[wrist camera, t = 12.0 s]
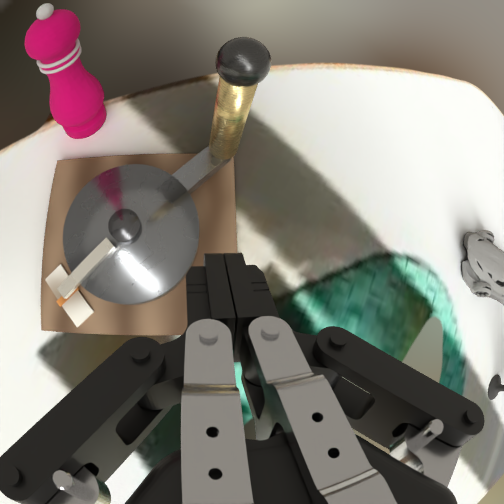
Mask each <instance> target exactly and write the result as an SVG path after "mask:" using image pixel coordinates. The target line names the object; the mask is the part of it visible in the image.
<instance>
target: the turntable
mask: <svg viewBox="0 0 504 504" xmlns="http://www.w3.org/2000/svg"><path fill="white" fill-rule="evenodd" d="M270 67H271V57H270V53H269V51H268V50H267V48H266V47H265V46H264V45H263V44H262V43H261V42H259V41H257V40H255V39H252V38H248V37H240V38H234V39H232V40H230V41H228V42H226V43H225V44H224V45H223V46H222V47H221V48H220V50H219V51H218V53H217V56H216V69H217V72H218V74H219V75H220V78H219V84H218V90H217V96H216V102H215V108H214V115H213V122H212V129H211V136H210V143H209V146H208V147H206V148H205V149H204V150H202V151H201V152H200V153H199V154H197V155H196V156H195V157H193V158H192V159H191V160H190V161H188V162H187V163H186V164H185V165H183V166H182V167H181V168H180V169H178V170H177V171H176V172H175V173H174V174H172V175H171V174H169V173H168V172H166V171H164V170H161V169H159V168H156V167H153V166H149V165H143V164H130V165H123V166H118V167H115V168H112V169H109V170H107V171H105V172H103V173H101V174H99V175H98V176H96V177H95V178H93V179H92V180H91V181H90V182H88V183H87V184H86V185H85V186H84V187H83V188H82V189H81V191H80V192H79V193H78V194H77V196H76V197H75V199H74V200H73V202H72V204H71V206H70V208H69V210H68V213H67V216H66V219H65V223H64V228H63V249H64V254H65V258H66V261H67V264H68V266H69V268H70V270H71V272H72V273H71V274H70V275H69V276H68V277H67V278H66V279H65V281H64V282H63V283H62V284H61V285H60V286H59V287H58V288H57V290H58V291H59V292H60V294H61V295H62V296H63V298H64V299H67V298H68V297H69V296H70V295H71V294H72V293H73V292H74V291H75V290H76V289H77V287H78V286H79V285H80V284H81V286H82V287H84V288H85V289H86V290H87V291H88V292H90V293H91V294H93V295H95V296H96V297H98V298H100V299H103V300H105V301H109V302H113V303H117V304H123V305H140V304H145V303H149V302H152V301H155V300H157V299H159V298H161V297H163V296H165V295H166V294H168V293H169V292H171V291H172V290H173V289H174V288H176V287H177V286H178V285H179V284H180V283H181V281H182V280H183V279H184V278H185V276H186V274H187V272H188V270H189V269H190V267H191V266H192V264H193V262H194V259H195V257H196V253H197V249H198V242H199V218H198V213H197V209H196V206H195V203H194V201H193V199H192V197H191V195H190V194H191V193H193V192H194V191H195V190H196V189H197V188H198V187H200V186H201V185H202V184H203V183H204V182H206V181H207V180H208V179H209V178H210V177H212V176H213V175H214V174H215V173H216V172H218V171H219V170H220V169H221V168H222V167H224V166H225V165H226V164H227V163H229V162H230V161H231V158H232V157H233V156H234V155H235V154H236V152H237V149H238V145H239V142H240V139H241V136H242V132H243V129H244V126H245V123H246V119H247V116H248V113H249V110H250V107H251V103H252V100H253V97H254V94H255V91H256V88H257V85H258V83H259V82H261V81H262V80H263V79H264V78H265V77H266V76H267V74H268V73H269V70H270Z"/></svg>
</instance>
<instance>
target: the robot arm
mask: <svg viewBox="0 0 504 504" xmlns="http://www.w3.org/2000/svg"><path fill="white" fill-rule="evenodd" d="M186 298H187V328H186V330H185V332H184V333H183V334H182V335H181V336H180V337H179V338H177V339H175V340H173V341H171V342H167V343H164V344H161V345H160V344H159V343H158V342H157V341H155V340H153V339H151V338H147V337H137V338H133V339H130V340H128V341H127V342H125V343H124V344H123V345H122V346H121V347H120V348H118V349H117V350H116V351H115V352H114V353H113V354H112V355H111V356H110V357H108V358H107V359H106V360H105V361H104V362H103V363H102V364H101V365H99V366H98V367H97V368H96V369H95V370H94V371H93V372H92V373H91V374H89V375H88V376H87V377H86V378H85V379H84V380H83V381H82V382H81V383H80V384H78V385H77V386H76V387H75V388H74V389H73V390H72V391H71V392H70V393H69V394H67V395H66V396H65V397H64V398H63V399H62V400H61V401H60V402H59V403H58V404H57V405H55V406H54V407H53V408H52V409H51V410H50V411H49V412H48V413H47V414H46V415H45V416H43V417H42V418H41V419H40V420H39V421H38V422H37V423H36V424H35V425H34V426H33V427H32V428H31V429H29V430H28V431H27V432H26V433H25V434H24V435H23V436H22V437H21V438H20V439H19V440H18V441H17V442H16V443H15V444H13V445H12V446H11V447H10V448H9V449H8V450H7V451H6V452H5V453H4V454H3V455H2V456H1V457H0V491H1V492H2V493H3V494H4V495H5V496H7V497H8V498H10V499H12V500H14V501H16V502H18V503H21V504H110V502H111V495H110V491H109V489H108V487H107V485H106V484H105V482H106V480H107V479H108V478H109V477H110V476H111V475H112V474H113V473H114V472H115V471H116V470H117V469H118V468H119V466H120V465H121V464H122V463H123V462H124V461H125V460H126V459H127V458H128V457H129V455H130V454H131V453H132V452H133V451H134V450H135V449H136V448H137V447H138V445H139V444H140V443H141V442H142V441H143V440H144V439H145V438H146V436H147V435H148V434H149V433H150V432H151V431H152V430H153V429H154V427H155V426H156V425H157V424H158V423H159V422H160V421H161V419H162V418H163V417H164V416H165V415H166V414H167V412H168V411H169V410H170V409H171V407H172V405H175V404H178V403H181V449H180V450H178V451H175V452H173V453H171V454H169V455H168V456H166V457H165V458H163V459H162V460H161V461H160V462H159V463H158V464H156V465H155V467H154V468H153V469H152V470H151V471H150V473H149V474H148V475H147V477H146V478H145V479H144V480H143V482H142V483H141V484H140V485H139V487H138V488H137V489H136V490H135V492H134V493H133V494H132V495H131V497H130V498H129V499H128V500H127V501H126V503H125V504H457V501H456V498H455V496H454V495H453V493H452V492H451V491H450V489H448V488H447V487H448V484H449V482H450V479H451V477H452V474H453V471H454V469H455V466H456V463H457V460H458V457H459V454H460V451H461V448H462V446H463V445H464V444H465V443H466V442H468V441H469V440H470V439H472V438H473V437H474V436H476V435H477V434H478V433H479V432H480V431H481V430H482V429H483V426H484V415H483V412H482V410H481V409H480V407H479V406H478V405H477V404H475V403H474V402H472V401H470V400H468V399H467V398H465V397H463V396H461V395H459V394H458V393H456V392H454V391H452V390H450V389H448V388H447V387H445V386H443V385H441V384H440V383H438V382H436V381H434V380H432V379H431V378H429V377H427V376H425V375H424V374H422V373H420V372H418V371H416V370H415V369H413V368H411V367H409V366H408V365H406V364H404V363H402V362H401V361H399V360H397V359H395V358H394V357H392V356H390V355H388V354H387V353H385V352H383V351H381V350H380V349H378V348H376V347H375V346H373V345H371V344H369V343H368V342H366V341H364V340H363V339H361V338H359V337H357V336H356V335H354V334H352V333H351V332H349V331H347V330H345V329H343V328H340V327H335V326H330V327H326V328H324V329H322V330H321V331H320V332H319V333H318V335H317V336H316V335H309V334H303V333H298V332H295V331H293V330H291V328H290V326H289V325H288V324H287V323H286V322H285V321H283V320H282V319H280V318H279V315H278V312H277V309H276V307H275V304H274V301H273V298H272V296H271V293H270V291H269V287H268V285H267V283H266V279H265V276H264V273H263V272H262V271H261V270H260V269H259V268H258V267H257V266H256V265H246V264H245V260H244V257H243V254H242V253H204V263H203V266H191V267H190V269H189V270H188V272H187V274H186ZM234 362H241V366H242V375H241V380H242V384H243V387H244V390H245V393H246V397H247V400H248V403H249V406H250V409H251V413H252V416H253V419H254V422H255V427H256V438H257V440H249V439H245V435H244V427H243V418H242V409H241V401H240V393H239V389H238V388H237V387H236V380H235V370H234ZM342 377H344V378H346V379H347V380H349V381H350V382H352V383H354V384H355V385H357V386H359V387H361V388H362V389H364V390H365V391H367V392H369V393H370V394H369V393H367V392H365V391H363V390H362V389H360V388H359V387H357V386H355V385H354V384H352V383H350V382H349V381H347V380H345V379H344V378H342ZM352 428H353V429H355V430H357V431H358V432H360V433H361V434H363V435H365V436H366V437H368V438H370V439H372V440H373V441H375V442H377V443H379V444H381V445H382V446H384V447H386V448H388V449H389V450H390V455H389V454H387V453H386V452H384V451H382V450H381V449H379V448H377V447H376V446H374V445H373V444H371V443H369V442H368V441H366V440H364V439H363V438H361V437H359V436H358V435H356V434H354V432H353V430H352Z"/></svg>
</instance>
